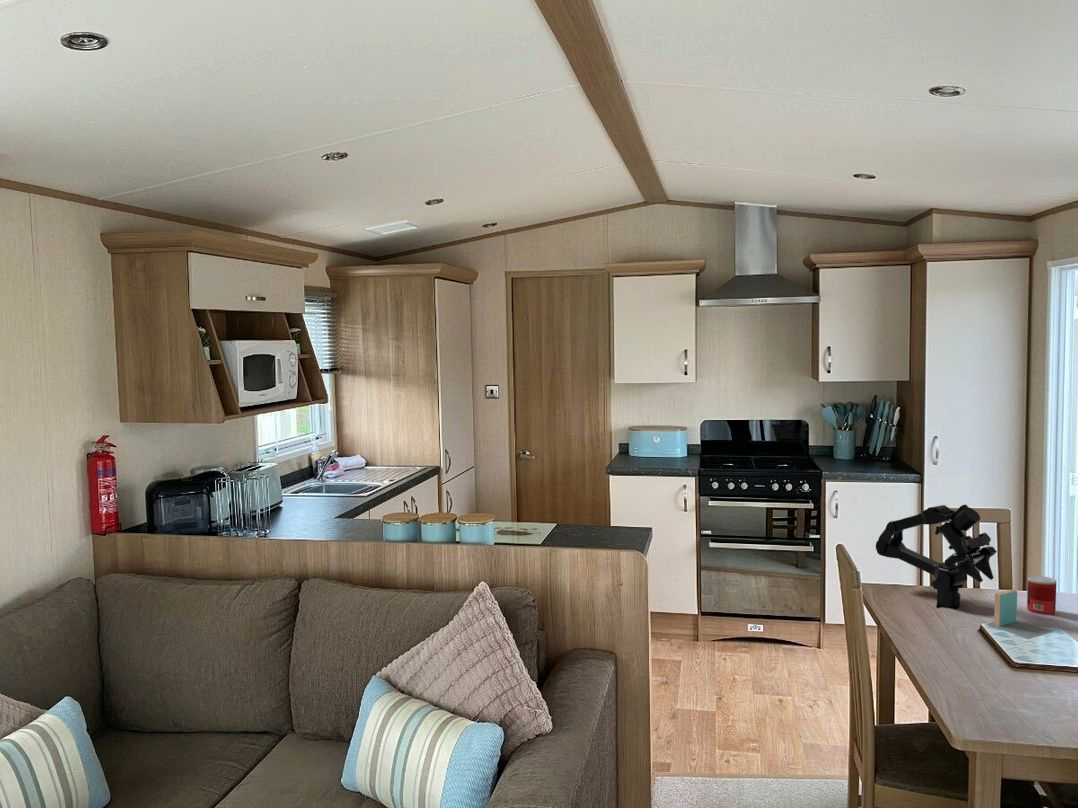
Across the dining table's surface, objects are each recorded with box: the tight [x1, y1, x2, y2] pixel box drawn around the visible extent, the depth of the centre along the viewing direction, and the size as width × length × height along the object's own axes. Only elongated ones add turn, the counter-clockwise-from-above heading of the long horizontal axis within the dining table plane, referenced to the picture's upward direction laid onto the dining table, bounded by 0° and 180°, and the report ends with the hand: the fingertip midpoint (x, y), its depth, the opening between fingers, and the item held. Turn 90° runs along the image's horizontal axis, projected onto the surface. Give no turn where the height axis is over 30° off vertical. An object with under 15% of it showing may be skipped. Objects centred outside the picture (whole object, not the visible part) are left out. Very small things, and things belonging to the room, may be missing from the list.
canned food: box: [1026, 575, 1057, 616], centre depth 273 cm, size 8×8×11 cm
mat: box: [985, 619, 1054, 639], centre depth 258 cm, size 14×12×1 cm
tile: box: [993, 588, 1018, 626], centre depth 262 cm, size 2×8×10 cm, turn 117°
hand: (987, 580), depth 267 cm, fingers open, 5 cm apart
